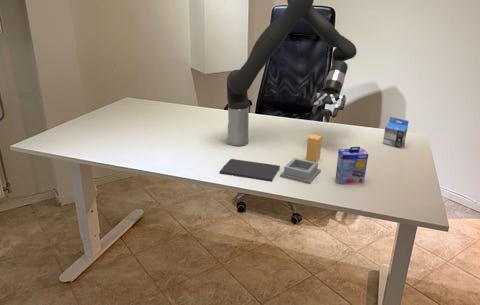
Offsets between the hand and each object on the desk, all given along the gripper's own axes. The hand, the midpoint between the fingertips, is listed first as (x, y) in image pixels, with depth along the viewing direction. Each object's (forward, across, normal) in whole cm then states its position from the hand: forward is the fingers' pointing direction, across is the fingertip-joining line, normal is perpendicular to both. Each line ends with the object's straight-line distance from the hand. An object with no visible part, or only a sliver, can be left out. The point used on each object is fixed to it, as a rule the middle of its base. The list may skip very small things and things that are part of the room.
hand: (323, 115), depth 168 cm
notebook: (+35, -18, -10) cm, 41 cm away
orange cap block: (+18, 0, +5) cm, 19 cm away
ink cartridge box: (+27, +19, -3) cm, 33 cm away
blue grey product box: (-5, +26, +29) cm, 40 cm away
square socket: (+30, +1, -6) cm, 30 cm away
